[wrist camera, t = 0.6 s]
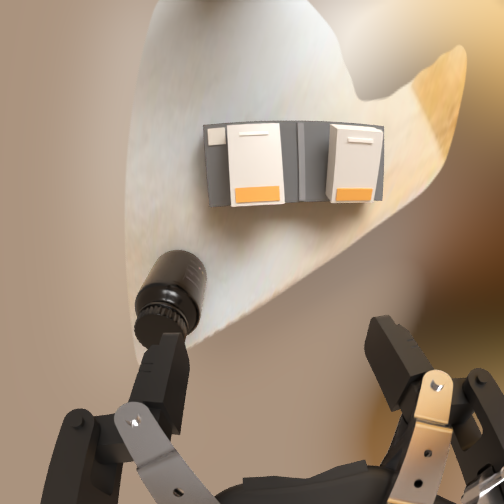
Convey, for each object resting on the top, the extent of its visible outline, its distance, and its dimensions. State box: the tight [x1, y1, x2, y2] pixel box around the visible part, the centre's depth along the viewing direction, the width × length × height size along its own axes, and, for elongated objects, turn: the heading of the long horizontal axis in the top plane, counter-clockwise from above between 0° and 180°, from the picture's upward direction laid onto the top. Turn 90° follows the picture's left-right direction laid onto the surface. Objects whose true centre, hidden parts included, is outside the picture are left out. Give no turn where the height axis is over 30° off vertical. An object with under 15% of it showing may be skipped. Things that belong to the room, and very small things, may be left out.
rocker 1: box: [227, 123, 285, 207], centre depth 23 cm, size 7×4×2 cm, turn 3°
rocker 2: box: [325, 124, 383, 203], centre depth 23 cm, size 7×4×2 cm, turn 3°
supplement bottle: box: [134, 250, 207, 349], centre depth 28 cm, size 7×7×12 cm
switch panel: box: [203, 121, 384, 207], centre depth 27 cm, size 8×18×4 cm, turn 93°
